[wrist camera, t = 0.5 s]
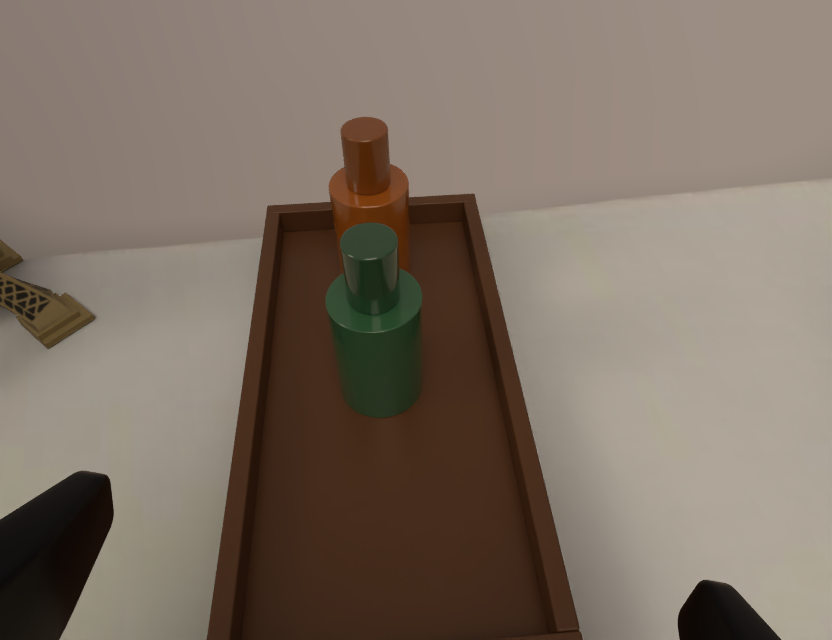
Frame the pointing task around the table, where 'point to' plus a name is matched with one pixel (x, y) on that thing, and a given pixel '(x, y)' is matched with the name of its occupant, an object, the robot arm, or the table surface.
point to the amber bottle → (370, 186)
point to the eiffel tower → (39, 305)
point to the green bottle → (376, 324)
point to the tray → (386, 462)
